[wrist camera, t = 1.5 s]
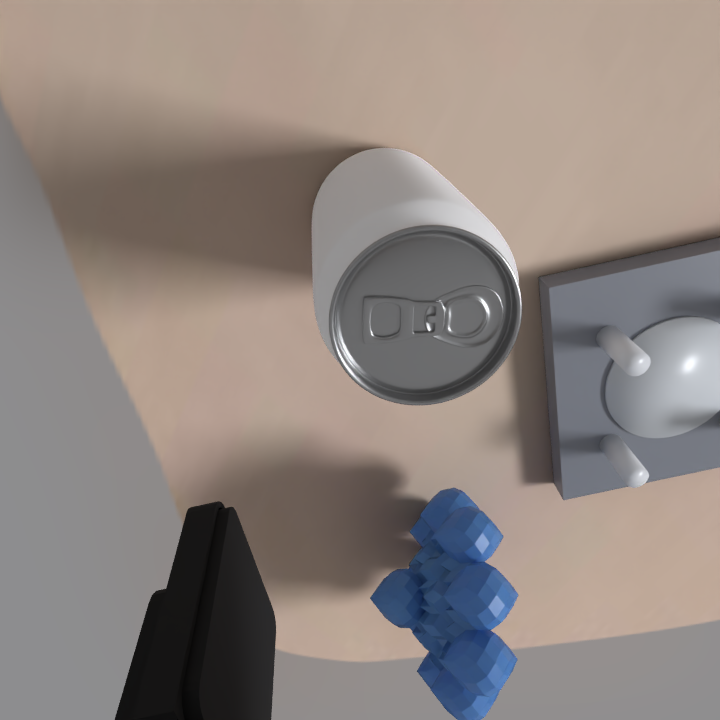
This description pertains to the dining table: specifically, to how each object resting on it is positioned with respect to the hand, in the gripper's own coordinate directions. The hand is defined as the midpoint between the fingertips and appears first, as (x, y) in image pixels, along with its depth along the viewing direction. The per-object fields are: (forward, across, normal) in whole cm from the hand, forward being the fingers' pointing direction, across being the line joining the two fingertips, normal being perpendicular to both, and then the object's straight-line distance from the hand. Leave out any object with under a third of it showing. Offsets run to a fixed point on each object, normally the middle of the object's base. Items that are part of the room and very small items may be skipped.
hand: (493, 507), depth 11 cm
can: (+20, 0, -1) cm, 20 cm away
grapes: (+20, +1, +17) cm, 26 cm away
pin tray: (+20, -13, +10) cm, 26 cm away
